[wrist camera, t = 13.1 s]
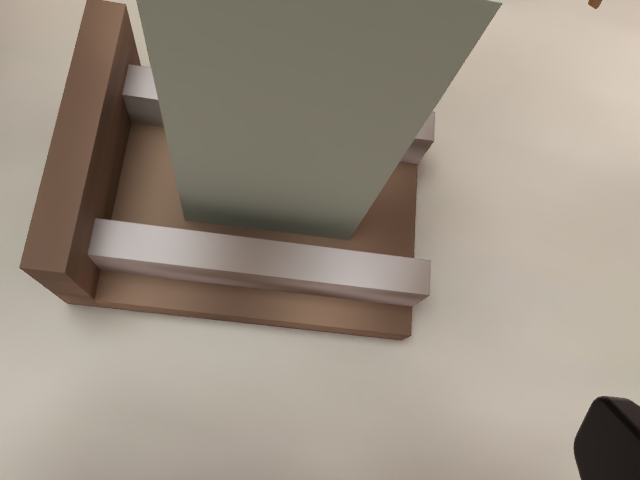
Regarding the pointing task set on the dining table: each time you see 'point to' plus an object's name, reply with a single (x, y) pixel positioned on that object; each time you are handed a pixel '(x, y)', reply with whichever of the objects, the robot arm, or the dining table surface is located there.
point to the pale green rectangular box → (299, 101)
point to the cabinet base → (197, 237)
